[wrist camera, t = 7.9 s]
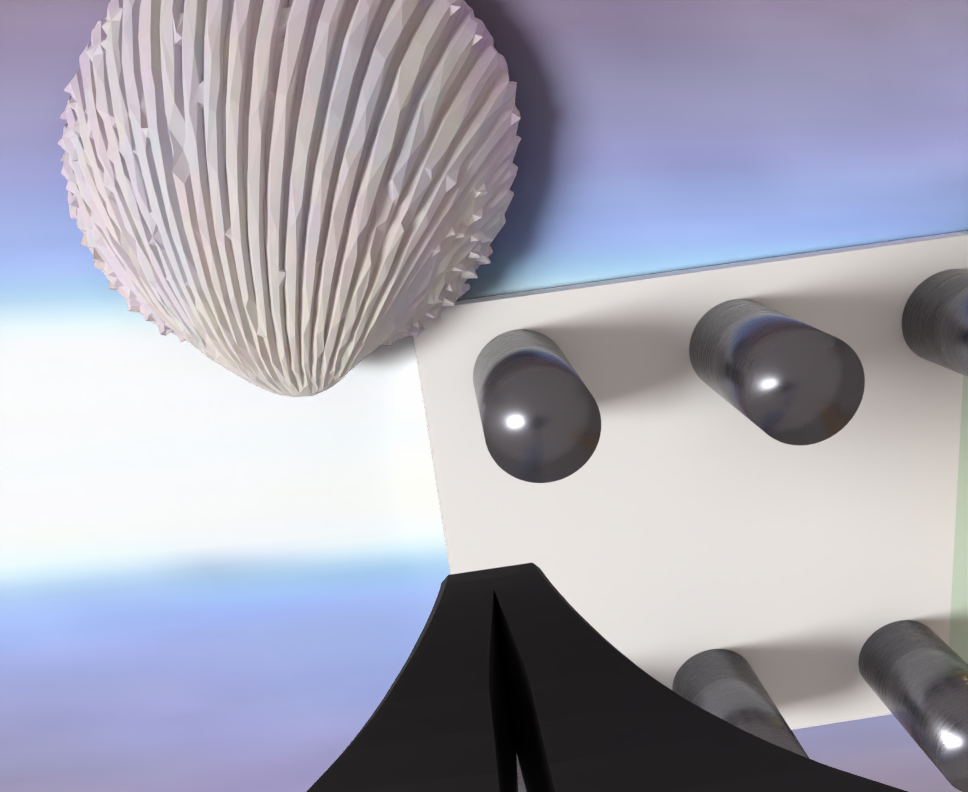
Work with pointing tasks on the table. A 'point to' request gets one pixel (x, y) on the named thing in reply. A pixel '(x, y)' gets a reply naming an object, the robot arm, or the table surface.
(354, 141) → the seashell
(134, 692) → the table surface
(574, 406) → the spacers
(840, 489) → the field mat
